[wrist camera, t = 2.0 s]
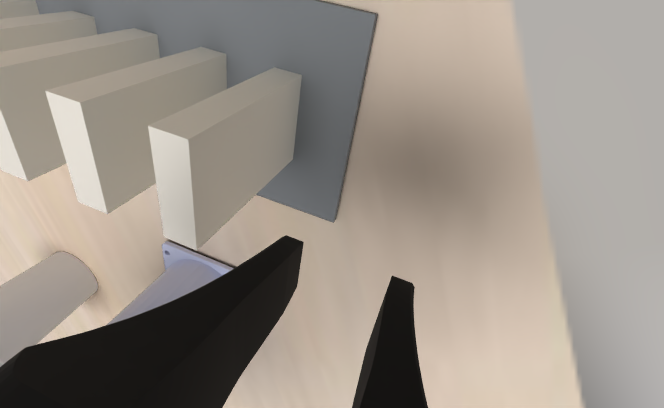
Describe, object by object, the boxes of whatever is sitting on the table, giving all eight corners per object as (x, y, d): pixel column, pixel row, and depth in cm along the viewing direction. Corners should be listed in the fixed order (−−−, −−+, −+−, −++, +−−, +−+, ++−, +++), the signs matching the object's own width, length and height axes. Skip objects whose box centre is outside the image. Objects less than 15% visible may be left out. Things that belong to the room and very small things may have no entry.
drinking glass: (83, 252, 38) (-26, 328, 30) (110, 300, 41) (18, 381, 33) (40, 244, 40) (-72, 313, 32) (69, 290, 43) (-27, 363, 35)
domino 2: (157, 34, 21) (-15, 70, 14) (166, 117, 24) (27, 181, 17) (134, 28, 22) (-45, 60, 14) (145, 110, 24) (1, 170, 17)
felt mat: (335, 219, 24) (333, 222, 24) (-21, 91, 30) (-26, 92, 30) (377, 13, 17) (375, 14, 17) (-96, -97, 23) (-105, -98, 23)
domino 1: (93, 16, 22) (-98, 42, 15) (110, 98, 25) (-44, 152, 18) (72, 10, 22) (-125, 32, 15) (90, 92, 25) (-68, 142, 18)
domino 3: (226, 53, 20) (79, 102, 13) (227, 137, 23) (107, 214, 16) (201, 46, 21) (45, 90, 14) (204, 129, 24) (78, 201, 16)
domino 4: (301, 74, 19) (188, 139, 12) (292, 159, 22) (196, 250, 15) (274, 67, 20) (147, 125, 13) (268, 151, 23) (163, 237, 16)
